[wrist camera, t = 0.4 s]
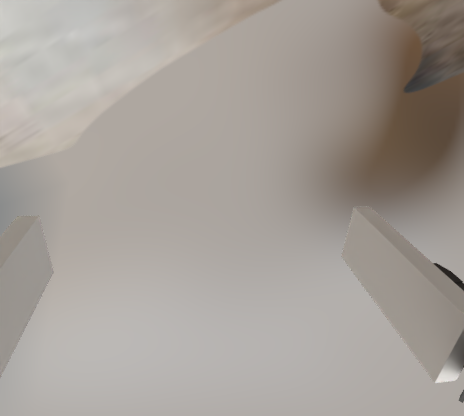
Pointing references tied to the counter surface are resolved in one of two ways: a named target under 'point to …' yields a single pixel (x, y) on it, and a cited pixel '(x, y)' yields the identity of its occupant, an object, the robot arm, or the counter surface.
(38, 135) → the counter surface
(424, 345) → the robot arm
